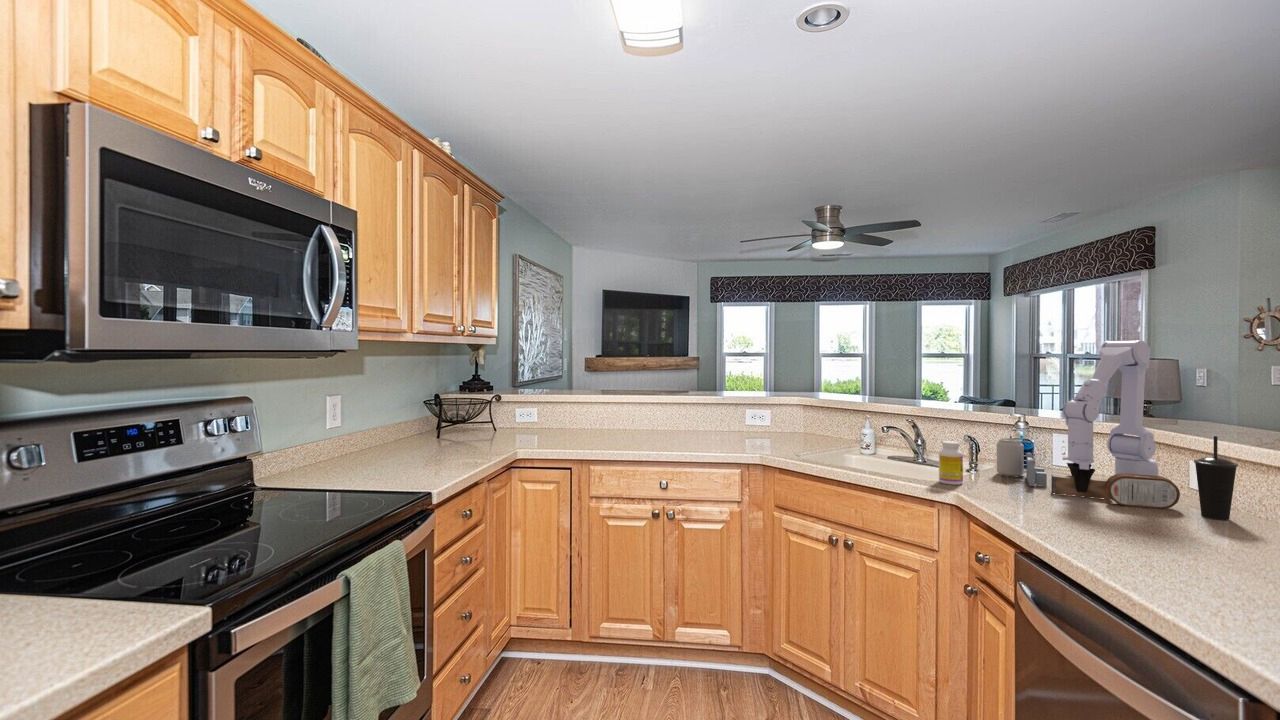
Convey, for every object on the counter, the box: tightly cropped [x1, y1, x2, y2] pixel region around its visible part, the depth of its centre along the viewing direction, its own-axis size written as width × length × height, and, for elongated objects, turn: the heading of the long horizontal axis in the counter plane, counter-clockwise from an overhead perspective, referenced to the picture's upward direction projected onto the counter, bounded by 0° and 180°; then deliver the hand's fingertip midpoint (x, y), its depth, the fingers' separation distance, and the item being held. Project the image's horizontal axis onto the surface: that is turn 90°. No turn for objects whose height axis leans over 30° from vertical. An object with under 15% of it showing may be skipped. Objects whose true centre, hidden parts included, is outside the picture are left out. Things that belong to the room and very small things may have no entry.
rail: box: [1051, 473, 1110, 500], centre depth 161 cm, size 13×4×5 cm, turn 59°
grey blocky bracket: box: [1025, 452, 1048, 488], centre depth 176 cm, size 5×14×8 cm, turn 149°
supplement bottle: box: [938, 440, 964, 486], centre depth 177 cm, size 7×7×13 cm
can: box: [996, 437, 1025, 477], centre depth 187 cm, size 8×8×12 cm
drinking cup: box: [1193, 435, 1239, 521], centre depth 139 cm, size 8×8×20 cm
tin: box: [1105, 473, 1181, 510], centre depth 149 cm, size 15×3×8 cm, turn 65°
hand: (1080, 490), depth 161 cm, fingers closed on rail, 4 cm apart
